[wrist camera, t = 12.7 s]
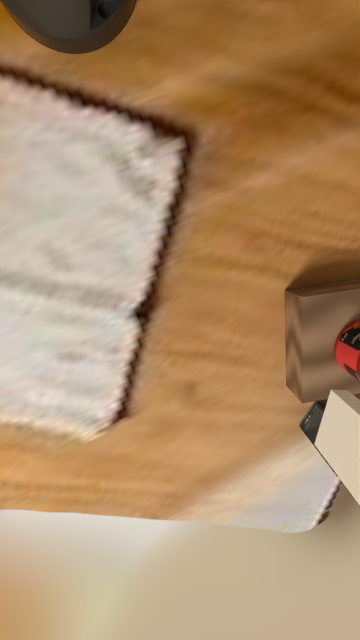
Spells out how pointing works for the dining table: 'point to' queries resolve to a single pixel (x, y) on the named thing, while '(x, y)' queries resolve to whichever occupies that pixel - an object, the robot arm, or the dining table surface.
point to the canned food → (349, 349)
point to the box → (314, 423)
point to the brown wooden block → (318, 338)
